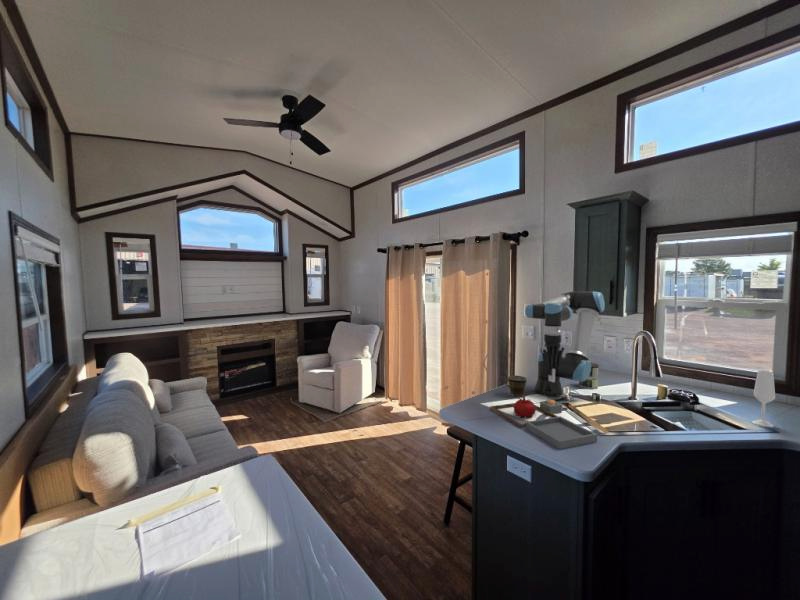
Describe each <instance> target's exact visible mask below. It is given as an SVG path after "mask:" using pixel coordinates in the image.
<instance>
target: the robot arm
mask: <svg viewBox="0 0 800 600" xmlns="http://www.w3.org/2000/svg"><path fill="white" fill-rule="evenodd" d="M605 306H606V305H605V298H604V295H603V293H602V292H599V291H595V290H594V291H577V290H574V291H568V292H564V293H561V294H558V295H556V296H554V298H551V299H548V300H546V301H543V302H540V303H537V304H527V305H526V306H525V309H524V310H525V311H524V312H525V313H524V314H525V316H526V318H529V319H535V320H536V319H539V320H544V327H543V328H544V329H543V330H544V331H543V332H544V337H543V339H544V340H543V341H544V343H545V344H544V347H543V348H540V352H541V353H540V354H539V355H538V357H537V358H538V360H537V380H536V382H535V385H534V389H533V390H534V392H535V394H539V395H541V396H546V397H553V398H554V397H561V396H563V393H564V392H563V391H564V390H563V388H562V387H563V386H562V384H561V381H560V378H563V379H566V380H572V381H575V382H579V381H585V380H586V379H587V378H588V377H589V375H590V372H591V363H592V362H591V361H590V358H589V357H588V356H587V354H588V350H589V346H590V341H591V337H592V332H593V328H594V324H595V319H596V318H597V317H599V316H600V313H603V312H604V311H605V308H606V307H605ZM573 311H575V312H576V314H577V320H576V322H575V326H574V331H573V334H572V339H571V343H570V347H569V351H567V352H566V353H565V355H564V356H563V353H564V351H565V348H564V347H562V346H561V342H562V335H561V334H562V321H567V320H570V319H571V318H572V316H573Z"/></svg>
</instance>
